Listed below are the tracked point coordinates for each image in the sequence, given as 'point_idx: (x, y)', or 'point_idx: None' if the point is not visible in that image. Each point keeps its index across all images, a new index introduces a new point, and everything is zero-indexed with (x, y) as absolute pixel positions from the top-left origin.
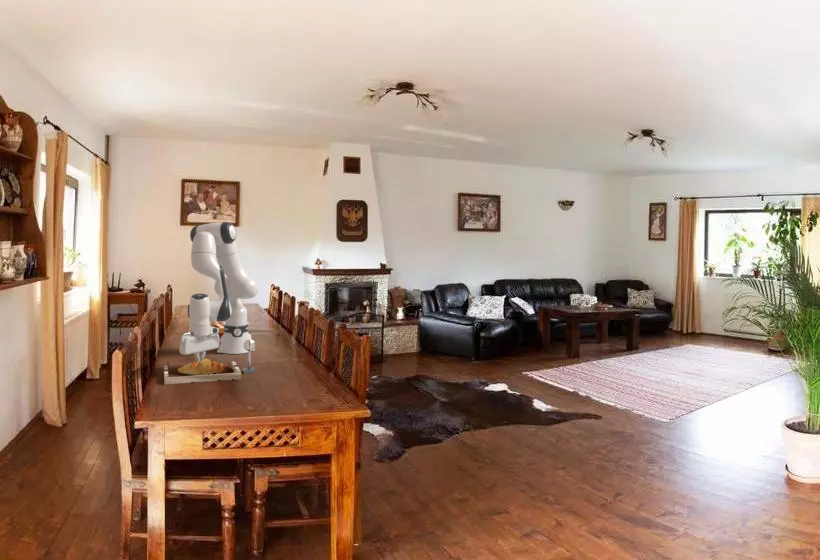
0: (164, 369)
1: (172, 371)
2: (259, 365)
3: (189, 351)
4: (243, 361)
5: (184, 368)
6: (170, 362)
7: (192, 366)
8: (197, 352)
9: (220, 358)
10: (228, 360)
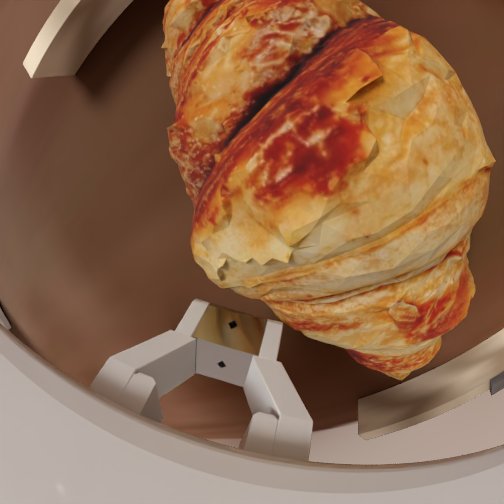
0: (496, 391)
1: (331, 392)
2: (8, 20)
3: (496, 482)
4: None
5: (439, 338)
6: (173, 423)
7: (473, 284)
8: (299, 460)
9: (17, 288)
10: (6, 238)
